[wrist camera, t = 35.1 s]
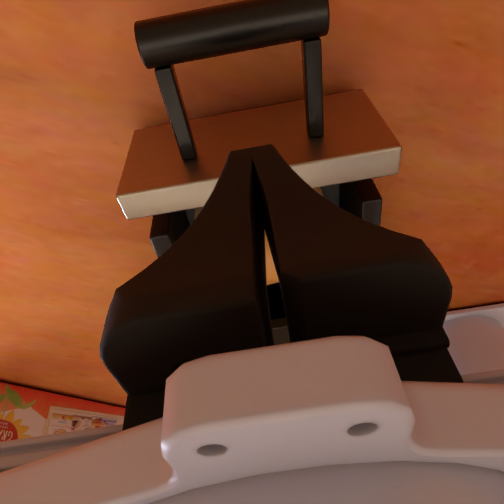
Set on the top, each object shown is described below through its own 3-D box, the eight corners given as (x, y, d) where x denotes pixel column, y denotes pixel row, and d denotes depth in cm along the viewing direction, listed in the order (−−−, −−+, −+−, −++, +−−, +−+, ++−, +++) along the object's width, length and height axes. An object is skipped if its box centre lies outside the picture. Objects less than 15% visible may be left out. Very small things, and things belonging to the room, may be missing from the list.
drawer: (87, 9, 15) (47, 56, 11) (367, -47, 15) (422, -17, 11) (198, 297, 27) (196, 367, 23) (355, 272, 26) (379, 340, 23)
